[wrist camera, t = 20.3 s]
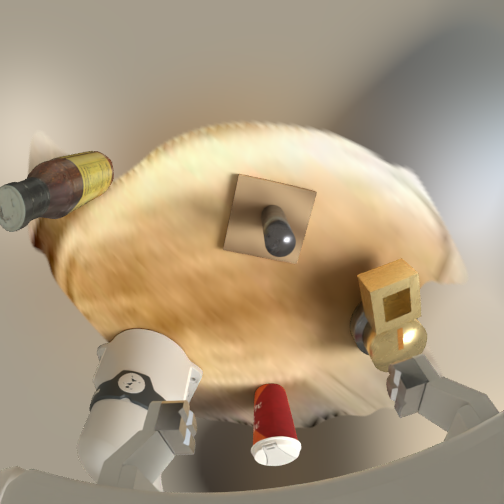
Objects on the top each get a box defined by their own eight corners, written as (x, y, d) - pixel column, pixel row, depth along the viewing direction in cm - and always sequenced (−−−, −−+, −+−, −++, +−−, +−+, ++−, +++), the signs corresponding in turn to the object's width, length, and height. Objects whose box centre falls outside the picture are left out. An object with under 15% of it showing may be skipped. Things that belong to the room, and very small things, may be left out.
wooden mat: (295, 261, 43) (296, 264, 42) (223, 247, 42) (223, 249, 41) (314, 191, 40) (316, 192, 39) (239, 173, 38) (239, 174, 38)
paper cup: (241, 386, 51) (242, 450, 38) (283, 373, 50) (293, 438, 37) (258, 411, 54) (262, 471, 41) (296, 399, 53) (308, 460, 40)
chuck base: (393, 347, 50) (399, 357, 47) (340, 342, 49) (345, 353, 46) (419, 293, 46) (427, 302, 43) (364, 284, 45) (371, 293, 42)
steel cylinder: (285, 226, 40) (296, 255, 31) (261, 228, 40) (266, 258, 31) (283, 203, 39) (295, 226, 30) (259, 206, 39) (263, 229, 30)
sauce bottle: (74, 188, 38) (-21, 232, 19) (83, 145, 36) (-17, 164, 17) (113, 200, 39) (28, 254, 20) (123, 156, 37) (35, 180, 18)
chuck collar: (413, 340, 45) (427, 358, 41) (365, 359, 46) (375, 380, 41) (407, 256, 40) (425, 271, 35) (350, 277, 41) (362, 295, 36)
